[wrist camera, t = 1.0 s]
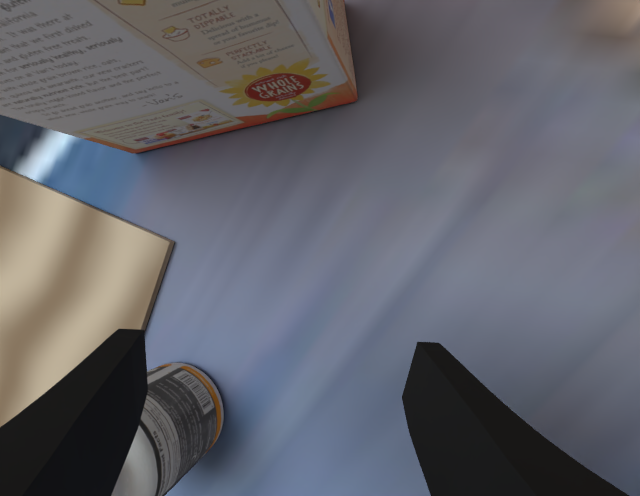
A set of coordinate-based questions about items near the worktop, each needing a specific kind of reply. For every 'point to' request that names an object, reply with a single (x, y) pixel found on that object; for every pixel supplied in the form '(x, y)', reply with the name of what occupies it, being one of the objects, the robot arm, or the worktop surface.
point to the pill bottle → (171, 430)
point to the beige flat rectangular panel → (65, 284)
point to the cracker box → (170, 66)
